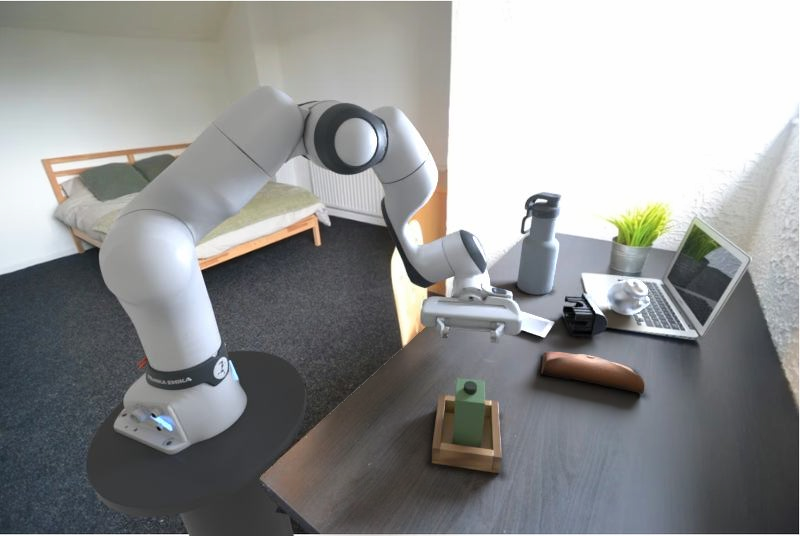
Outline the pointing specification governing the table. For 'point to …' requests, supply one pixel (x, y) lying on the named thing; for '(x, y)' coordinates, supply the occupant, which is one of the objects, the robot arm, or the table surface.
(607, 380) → the sunglasses case
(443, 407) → the wooden tray
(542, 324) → the white shallow tray
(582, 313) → the end cap
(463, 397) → the green carton with cap
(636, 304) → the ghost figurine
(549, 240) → the water bottle
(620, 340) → the table surface
